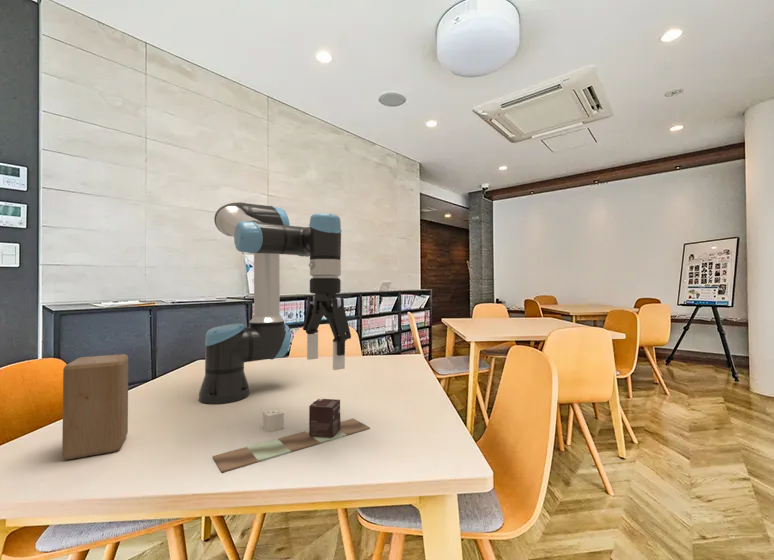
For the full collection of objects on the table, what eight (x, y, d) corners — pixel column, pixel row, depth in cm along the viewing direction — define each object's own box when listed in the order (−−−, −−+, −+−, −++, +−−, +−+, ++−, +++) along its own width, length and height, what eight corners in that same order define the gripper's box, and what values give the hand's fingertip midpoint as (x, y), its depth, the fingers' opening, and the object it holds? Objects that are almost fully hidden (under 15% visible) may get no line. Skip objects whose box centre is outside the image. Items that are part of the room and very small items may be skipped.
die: (262, 427, 92) (262, 411, 92) (278, 423, 94) (278, 408, 95) (267, 432, 89) (267, 415, 89) (283, 428, 91) (283, 412, 91)
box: (332, 438, 84) (332, 407, 84) (308, 436, 85) (308, 405, 85) (340, 428, 90) (340, 399, 90) (318, 426, 91) (318, 397, 91)
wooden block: (60, 462, 74) (61, 365, 74) (75, 443, 83) (76, 356, 83) (120, 452, 78) (121, 360, 79) (128, 435, 87) (129, 353, 88)
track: (212, 457, 76) (212, 455, 76) (353, 419, 97) (353, 418, 97) (221, 473, 69) (221, 471, 69) (370, 428, 91) (370, 427, 91)
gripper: (290, 277, 96) (290, 357, 96) (337, 276, 76) (336, 376, 76) (316, 277, 100) (315, 353, 100) (366, 277, 81) (366, 371, 80)
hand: (324, 363), depth 88 cm, fingers open, 13 cm apart
